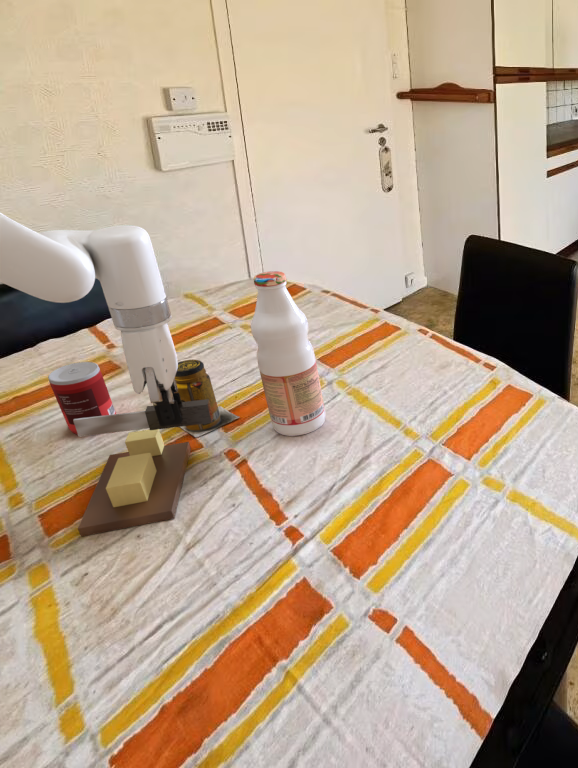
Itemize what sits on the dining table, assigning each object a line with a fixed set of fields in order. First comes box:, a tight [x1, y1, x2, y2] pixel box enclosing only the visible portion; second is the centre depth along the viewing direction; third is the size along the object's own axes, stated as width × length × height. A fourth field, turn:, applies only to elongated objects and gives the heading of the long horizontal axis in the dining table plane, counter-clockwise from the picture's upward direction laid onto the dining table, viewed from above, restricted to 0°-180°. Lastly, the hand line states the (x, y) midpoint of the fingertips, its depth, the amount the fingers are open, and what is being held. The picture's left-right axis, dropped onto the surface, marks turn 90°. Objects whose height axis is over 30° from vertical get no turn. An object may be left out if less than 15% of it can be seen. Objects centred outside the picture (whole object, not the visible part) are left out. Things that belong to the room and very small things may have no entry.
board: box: [77, 441, 192, 537], centre depth 97 cm, size 12×19×2 cm, turn 18°
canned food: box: [47, 361, 117, 436], centre depth 111 cm, size 8×8×11 cm
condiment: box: [175, 359, 241, 438], centre depth 111 cm, size 7×8×12 cm
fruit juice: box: [250, 270, 326, 437], centre depth 107 cm, size 9×9×28 cm
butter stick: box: [106, 453, 157, 507], centre depth 94 cm, size 4×8×4 cm, turn 17°
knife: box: [73, 399, 213, 438], centre depth 98 cm, size 19×2×3 cm, turn 108°
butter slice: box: [124, 428, 165, 456], centre depth 102 cm, size 4×3×4 cm, turn 108°
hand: (172, 419), depth 100 cm, fingers closed on knife, 2 cm apart
